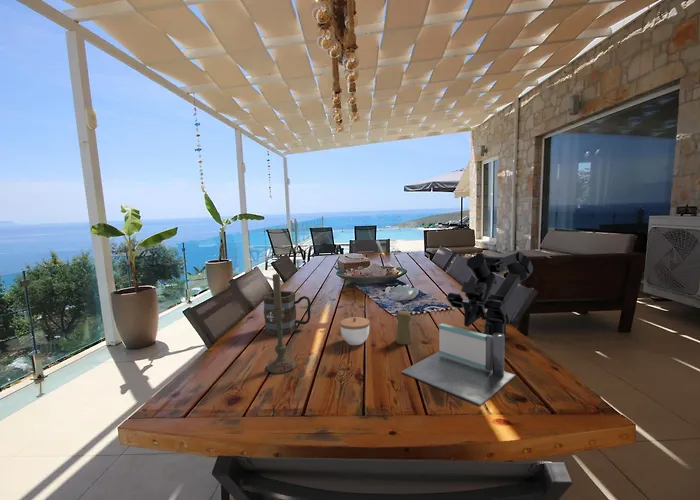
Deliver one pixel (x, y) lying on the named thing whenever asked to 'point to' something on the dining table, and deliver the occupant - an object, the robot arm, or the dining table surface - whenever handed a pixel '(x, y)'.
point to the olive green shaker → (403, 328)
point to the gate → (466, 346)
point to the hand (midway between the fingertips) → (465, 326)
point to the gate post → (464, 374)
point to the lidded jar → (355, 330)
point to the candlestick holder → (279, 333)
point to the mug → (289, 312)
